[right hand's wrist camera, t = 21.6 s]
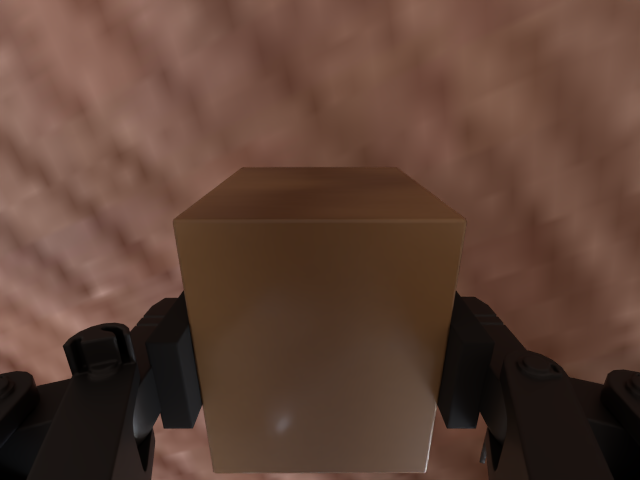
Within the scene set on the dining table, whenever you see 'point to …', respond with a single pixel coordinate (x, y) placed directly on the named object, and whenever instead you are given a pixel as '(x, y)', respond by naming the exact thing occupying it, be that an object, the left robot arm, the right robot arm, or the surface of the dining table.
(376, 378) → the block
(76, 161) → the dining table surface
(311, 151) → the dining table surface
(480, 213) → the dining table surface
